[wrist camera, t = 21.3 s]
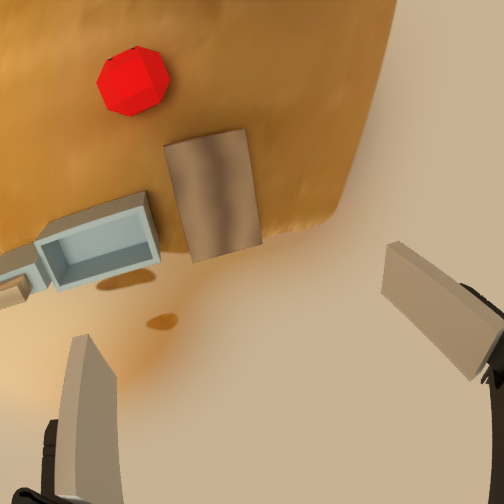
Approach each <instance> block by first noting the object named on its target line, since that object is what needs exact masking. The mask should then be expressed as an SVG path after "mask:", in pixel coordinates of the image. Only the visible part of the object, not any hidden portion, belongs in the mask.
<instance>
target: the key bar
mask: <svg viewBox="0 0 504 504" xmlns="http://www.w3.org/2000/svg"><path fill="white" fill-rule="evenodd" d="M32 289H33V288H32V287H31V285H30V283H29V281H28V279H27V277H26V275H25V273H24V274H21V275H19V276H16V277H13V278H10V279H8V280H5V281H2V282H0V310H1V309H3V308H7V307H10V306H13V305H17V304H20V303H23V302H26V300H27V298H28V296H29V294H30V293H31V291H32Z"/></svg>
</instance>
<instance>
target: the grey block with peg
mask: <svg viewBox="0 0 504 504" xmlns="http://www.w3.org/2000/svg"><path fill="white" fill-rule="evenodd" d="M24 273H25V275H26V277H27V279H28V281H29V283H30V285H31V287H32V288H33V289H32V291H31V293H30V294H33V293H36V292H39V291H42V290H46V289H48V287H49V285H50V283H51V281H52V280H51V278H50V276H49V274H48V272H47V270H46V268H45V266H44V264H43V262H42V260H41V258H40V255H39V253H38V251H37V249H36V246H35V244H34V242H32V243H30V244H27V245H25V246H22V247H20V248H17V249H15V250H12V251H10V252H7V253H5V254H3V255H2V256H1V257H0V282H2V281H5V280H8V279H10V278H13V277H16V276H19V275H21V274H24ZM30 294H29V295H30Z"/></svg>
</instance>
